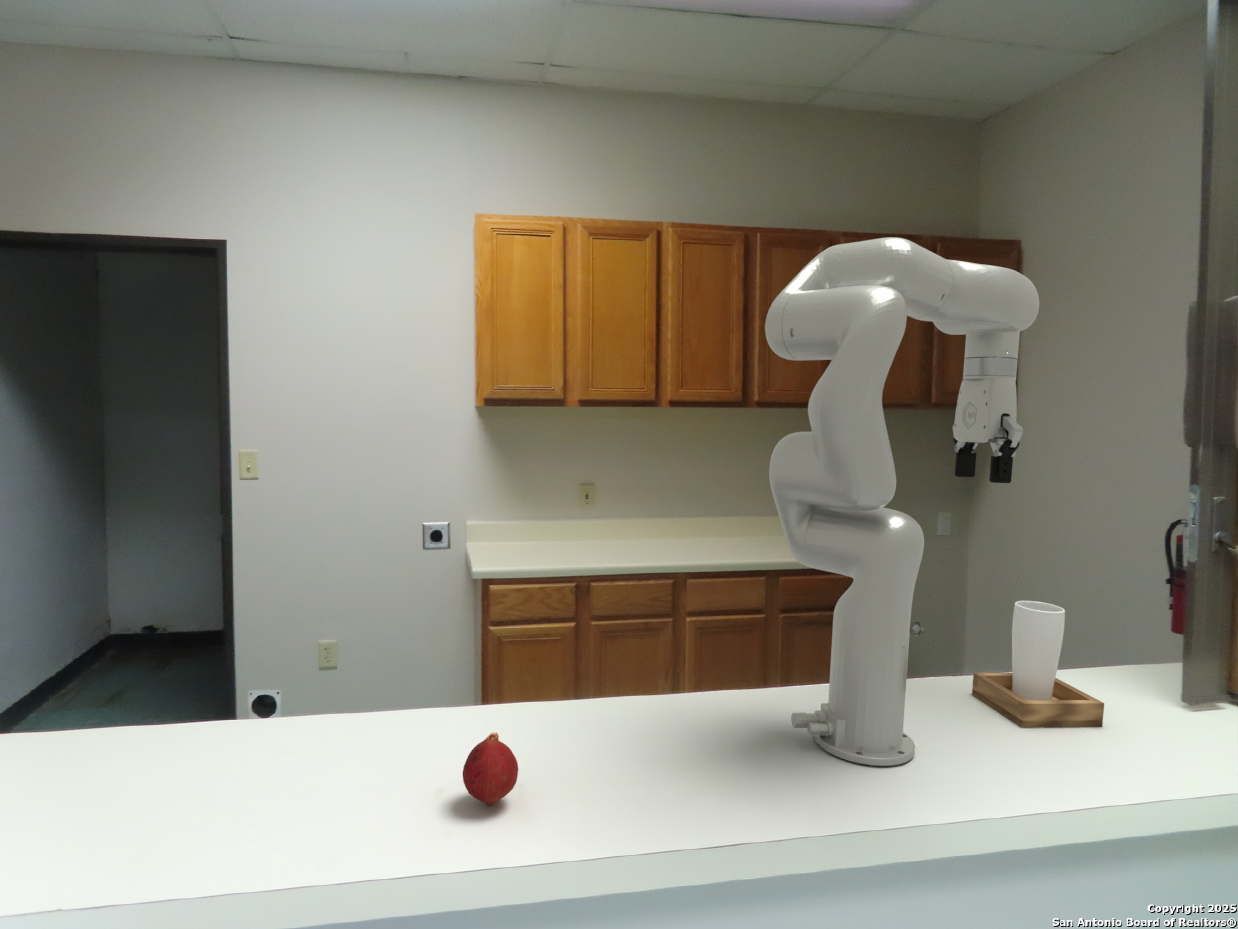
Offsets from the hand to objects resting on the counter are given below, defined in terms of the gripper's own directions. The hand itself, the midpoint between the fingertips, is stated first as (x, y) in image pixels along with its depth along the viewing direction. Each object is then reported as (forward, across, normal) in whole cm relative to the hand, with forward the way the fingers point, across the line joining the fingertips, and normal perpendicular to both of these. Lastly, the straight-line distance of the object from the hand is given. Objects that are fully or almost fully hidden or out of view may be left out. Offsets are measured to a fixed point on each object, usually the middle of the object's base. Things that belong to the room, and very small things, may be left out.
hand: (981, 479), depth 119 cm
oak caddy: (+34, +8, +6) cm, 36 cm away
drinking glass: (+33, +8, +5) cm, 35 cm away
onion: (+34, +34, -74) cm, 88 cm away
